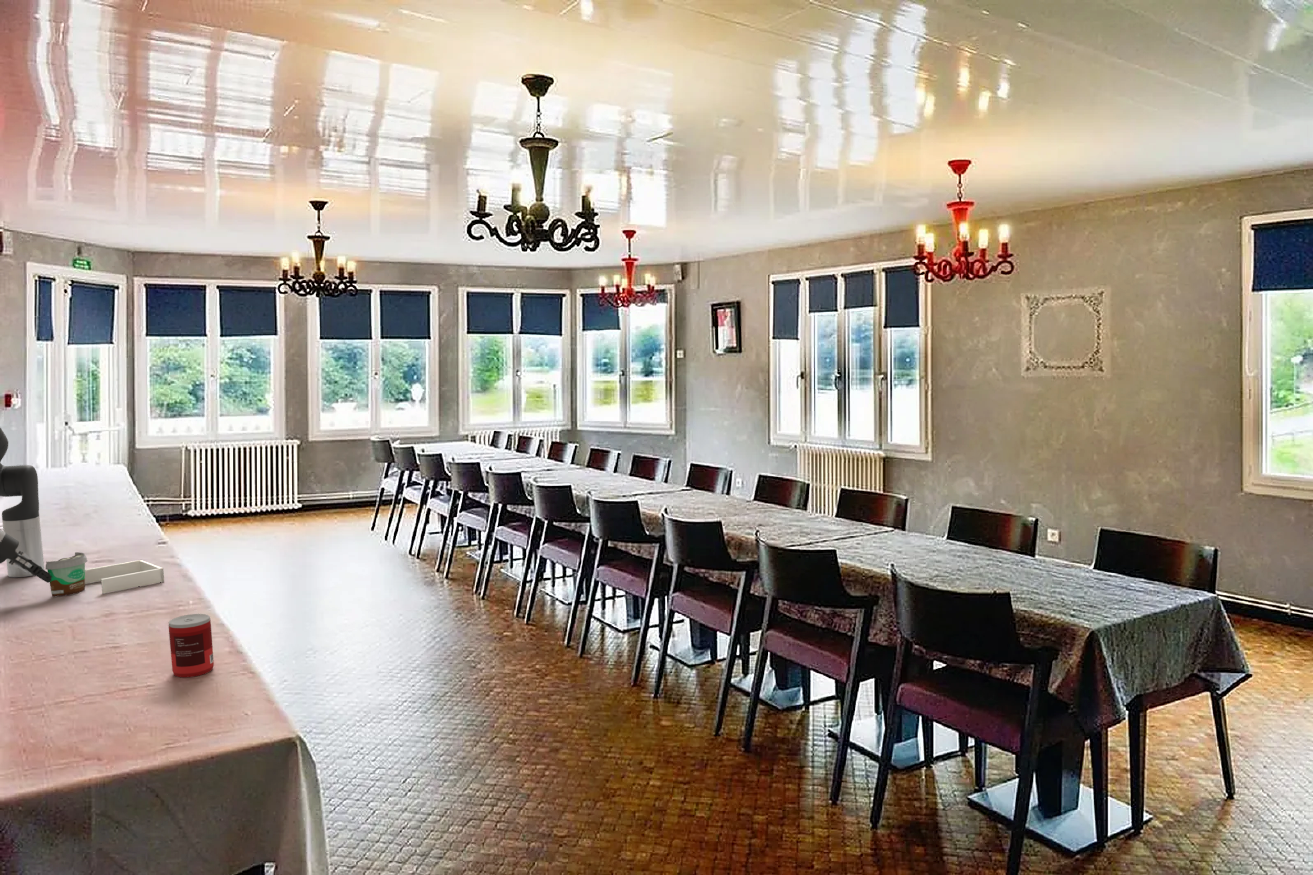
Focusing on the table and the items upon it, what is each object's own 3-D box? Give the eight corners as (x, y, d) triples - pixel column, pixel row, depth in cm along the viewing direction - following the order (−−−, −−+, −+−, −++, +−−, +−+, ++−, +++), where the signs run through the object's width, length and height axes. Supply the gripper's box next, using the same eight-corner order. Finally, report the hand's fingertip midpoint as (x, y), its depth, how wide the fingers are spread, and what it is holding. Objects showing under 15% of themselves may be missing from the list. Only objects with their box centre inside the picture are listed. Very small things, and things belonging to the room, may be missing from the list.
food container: (69, 598, 248) (66, 561, 247) (48, 598, 248) (44, 562, 247) (100, 586, 260) (97, 551, 259) (79, 586, 260) (76, 551, 259)
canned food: (201, 662, 193) (197, 611, 191) (222, 669, 188) (218, 617, 187) (164, 673, 186) (160, 621, 185) (185, 680, 182) (181, 627, 181)
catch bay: (82, 583, 263) (81, 570, 263) (142, 572, 275) (141, 559, 274) (103, 593, 251) (101, 579, 251) (164, 581, 263) (163, 568, 262)
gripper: (10, 534, 236) (68, 571, 246) (-3, 528, 245) (54, 564, 255) (-13, 558, 233) (47, 595, 243) (-25, 551, 242) (33, 587, 252)
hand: (50, 579), depth 249 cm, fingers closed
